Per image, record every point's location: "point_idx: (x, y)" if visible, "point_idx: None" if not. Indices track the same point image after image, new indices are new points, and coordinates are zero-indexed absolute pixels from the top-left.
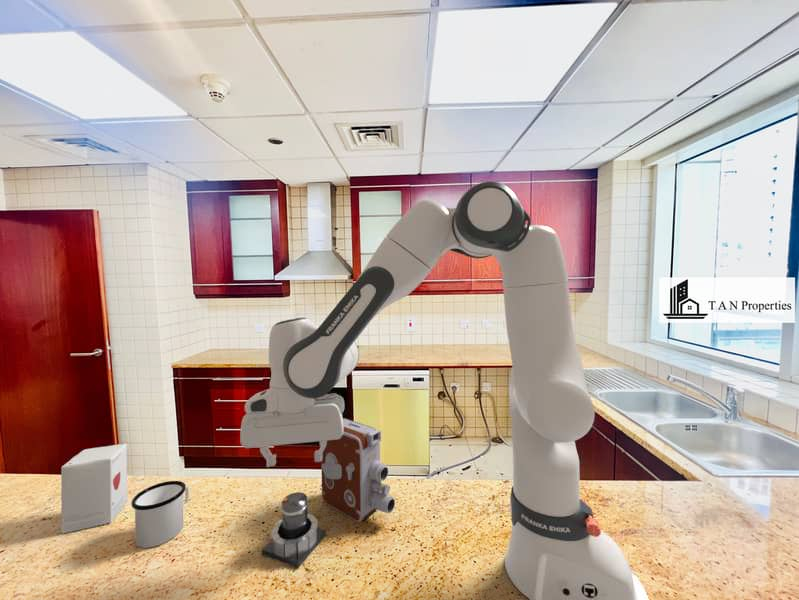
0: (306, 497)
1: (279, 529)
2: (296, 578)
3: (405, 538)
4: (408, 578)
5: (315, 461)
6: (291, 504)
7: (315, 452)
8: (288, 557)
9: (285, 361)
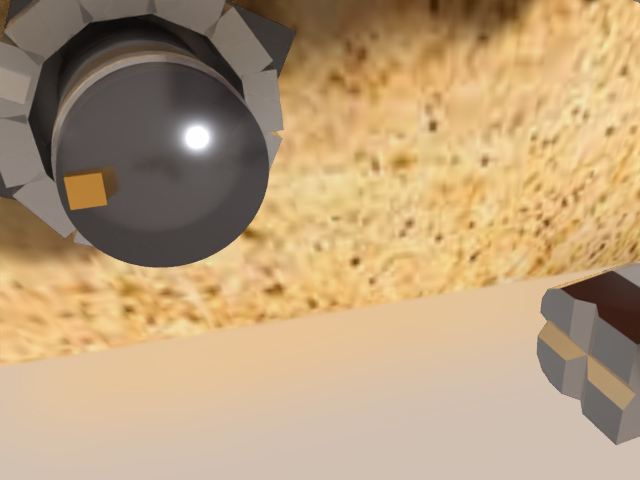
0: (262, 143)
1: (29, 114)
2: (218, 276)
3: (619, 53)
4: (579, 228)
5: (553, 368)
6: (166, 230)
7: (634, 398)
8: None
9: None
